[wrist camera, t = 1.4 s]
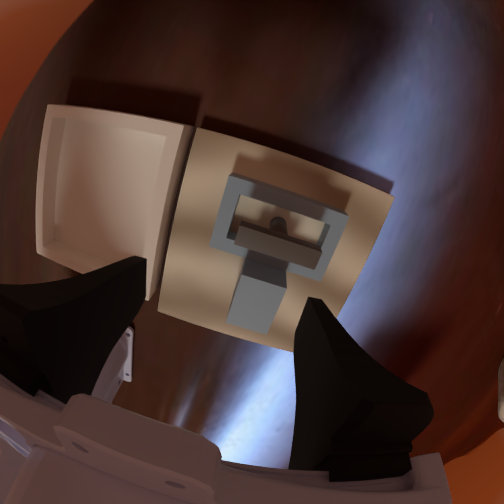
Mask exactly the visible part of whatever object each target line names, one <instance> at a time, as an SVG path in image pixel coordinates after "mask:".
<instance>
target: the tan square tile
mask: <svg viewBox="0 0 504 504" xmlns="http://www.w3.org/2000/svg"><path fill="white" fill-rule="evenodd" d="M232 172H233V173H236V174H239V175H243V176H246V177H249V178H252V179H255V180H258V181H262V182H265V183H268V184H271V185H274V186H277V187H280V188H283V189H286V190H289V191H292V192H295V193H297V194H300V195H303V196H306V197H309V198H312V199H314V200H317V201H320V202H323V203H325V204H328V205H331V206H333V207H336V208H339V209H341V210H344V211H345V212H346V213H347V214H348V215H349V219H348V221H347V224H346V226H345V229H344V231H343V233H342V236H341V238H340V240H339V243H338V245H337V247H336V249H335V252H334V254H333V256H332V258H331V260H330V263H329V265H328V267H327V269H326V271H325V274H324V276H323V278H322V280H321V282H320V281H317V280H314V279H310V278H307V277H304V276H301V275H298V274H294V273H291V272H288V271H286V279H287V290H286V292H285V295H284V297H283V299H282V301H281V304H280V306H279V308H278V310H277V313H276V315H275V317H274V319H273V322H272V324H271V326H270V328H269V331H268V333H267V335H266V334H262V333H259V332H255V331H252V330H248V329H245V328H242V327H238V326H235V325H232V324H228V323H226V319H227V315H228V311H229V307H230V304H231V300H232V296H233V292H234V289H235V286H236V283H237V280H238V277H239V274H240V271H241V268H242V265H243V262H244V259H245V258H244V257H241V256H237V255H234V254H231V253H228V252H225V251H222V250H219V249H215V248H212V247H209V244H210V240H211V237H212V233H213V229H214V226H215V222H216V218H217V215H218V211H219V208H220V204H221V201H222V197H223V194H224V190H225V187H226V183H227V180H228V177H229V175H230V174H231V173H232ZM393 200H394V196H392V195H390V194H388V193H386V192H384V191H382V190H379V189H377V188H375V187H373V186H370V185H368V184H366V183H363V182H361V181H359V180H356V179H354V178H351V177H349V176H347V175H344V174H342V173H339V172H337V171H334V170H332V169H329V168H326V167H324V166H321V165H318V164H316V163H313V162H310V161H308V160H305V159H302V158H299V157H296V156H294V155H291V154H288V153H285V152H282V151H279V150H276V149H273V148H270V147H266V146H263V145H260V144H257V143H254V142H250V141H247V140H244V139H240V138H237V137H233V136H230V135H226V134H222V133H218V132H215V131H211V130H207V129H203V128H197V130H196V133H195V137H194V140H193V144H192V148H191V151H190V155H189V159H188V163H187V166H186V170H185V174H184V178H183V182H182V186H181V191H180V195H179V199H178V203H177V208H176V212H175V217H174V222H173V226H172V231H171V236H170V241H169V246H168V251H167V257H166V262H165V268H164V273H163V279H162V285H161V292H160V298H159V305H158V311H159V312H162V313H165V314H167V315H170V316H173V317H176V318H179V319H182V320H185V321H187V322H190V323H193V324H196V325H199V326H203V327H206V328H209V329H212V330H215V331H218V332H222V333H225V334H228V335H231V336H235V337H238V338H242V339H245V340H249V341H252V342H256V343H259V344H263V345H267V346H270V347H274V348H278V349H282V350H286V351H290V352H293V350H294V335H295V330H296V328H297V325H298V322H299V320H300V317H301V315H302V312H303V309H304V306H305V304H306V301H307V298H308V296H309V297H313V298H318V299H322V300H323V301H324V303H325V304H326V305H327V307H328V308H329V309H330V311H331V312H332V313H333V315H334V316H335V317H336V318H337V316H338V314H339V312H340V311H341V309H342V307H343V305H344V303H345V301H346V300H347V298H348V296H349V294H350V292H351V290H352V288H353V286H354V284H355V282H356V281H357V279H358V277H359V275H360V273H361V271H362V269H363V267H364V265H365V262H366V260H367V258H368V256H369V254H370V252H371V250H372V248H373V246H374V244H375V241H376V239H377V237H378V235H379V233H380V230H381V228H382V226H383V224H384V221H385V219H386V217H387V214H388V212H389V210H390V207H391V205H392V202H393ZM324 225H325V223H324V222H321V221H318V220H315V219H312V218H310V217H307V216H304V215H301V214H298V213H295V212H292V211H289V210H286V209H283V208H280V207H277V206H274V205H271V204H268V203H265V202H262V201H259V200H256V199H253V198H250V197H247V196H243V195H240V198H239V201H238V204H237V208H236V211H235V214H234V218H233V221H232V224H231V227H230V231H231V232H235V233H237V235H236V238H235V242H234V244H235V245H238V246H241V247H244V248H247V249H250V250H253V251H257V252H260V253H263V254H266V255H269V256H272V257H275V258H279V259H282V260H285V261H288V262H291V263H294V264H297V265H300V266H304V267H307V268H310V269H313V270H315V268H316V266H317V264H318V261H319V259H320V257H321V255H322V250H321V247H320V246H319V245H317V242H318V240H319V237H320V235H321V233H322V230H323V228H324Z"/></svg>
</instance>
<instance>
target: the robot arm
mask: <svg viewBox="0 0 504 504" xmlns="http://www.w3.org/2000/svg"><path fill="white" fill-rule="evenodd" d="M146 273H147V259H146V258H143V257H139V256H131V257H128V258H125V259H123V260H120V261H117V262H115V263H112V264H110V265H107V266H104V267H102V268H99V269H96V270H93V271H91V272H88V273H85V274H82V275H79V276H75V277H71V278H67V279H63V280H58V281H52V282H46V283H39V284H25V285H9V284H0V504H452V499H451V494H450V490H449V486H448V482H447V478H446V475H445V470H444V467H443V463H442V459H441V456H440V453H432V454H427V455H420V456H416V457H414V458H412V459H410V457H409V453H408V452H411V451H412V449H413V447H412V444H411V441H412V440H413V439H415V438H416V437H417V436H418V435H419V434H420V433H421V432H422V431H423V430H424V429H425V428H426V427H427V426H428V425H429V424H430V422H431V420H432V418H433V416H434V410H433V407H432V404H431V402H430V399H429V397H428V394H427V393H426V392H424V391H422V390H420V389H418V388H416V387H414V386H412V385H410V384H408V383H406V382H405V381H403V380H402V379H400V378H398V377H397V376H395V375H394V374H392V373H391V372H389V371H388V370H387V369H385V368H384V367H383V366H381V365H380V364H379V363H378V362H376V361H375V360H374V359H373V358H372V357H371V356H369V355H368V354H367V353H366V352H365V351H364V350H363V349H362V348H361V347H360V346H359V345H358V344H357V343H356V342H355V341H354V339H353V338H352V337H351V336H350V335H349V334H348V333H347V331H346V330H345V329H344V328H343V327H342V325H341V324H340V323H339V321H338V320H337V319H336V317H335V316H334V315H333V313H332V312H331V311H330V309H329V308H328V307H327V305H326V304H325V303H324V301H323V300H322V299H318V298H313V297H309V296H308V298H307V301H306V304H305V306H304V309H303V312H302V315H301V317H300V320H299V322H298V325H297V328H296V330H295V335H294V350H293V353H294V368H295V383H296V411H295V424H294V434H293V442H292V449H291V457H290V462H289V468H288V469H278V468H268V467H260V466H253V465H246V464H240V463H234V462H229V461H223V460H221V458H222V456H221V453H220V450H219V448H218V447H217V446H216V444H214V443H213V442H211V441H210V440H208V439H207V438H205V437H204V436H202V435H199V434H197V433H194V432H191V431H189V430H186V429H183V428H180V427H176V426H173V425H170V424H166V423H163V422H160V421H157V420H154V419H151V418H148V417H145V416H142V415H139V414H137V413H134V412H131V411H129V410H126V409H123V408H121V407H118V406H116V405H113V404H111V402H112V400H113V398H114V396H115V394H116V393H117V391H118V389H119V387H120V385H121V383H122V381H123V380H125V381H128V382H131V381H132V363H133V337H134V330H133V328H132V327H130V326H129V325H130V323H131V322H132V321H133V319H134V318H135V316H136V315H137V313H138V312H139V310H140V308H141V306H142V304H143V302H144V300H145V298H146ZM128 333H129V334H130V335H129V334H128Z"/></svg>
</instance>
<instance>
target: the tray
mask: <svg viewBox="0 0 504 504" xmlns="http://www.w3.org/2000/svg"><path fill="white" fill-rule="evenodd" d="M193 130H194V126H191V125H186V124H182V123H178V122H173V121H168V120H164V119H159V118H154V117H149V116H143V115H138V114H132V113H126V112H120V111H113V110H106V109H99V108H91V107H83V106H74V105H51V104H48V105H47V110H46V115H45V121H44V126H43V132H42V139H41V146H40V154H39V163H38V175H37V190H36V246H37V253H38V254H40V255H42V256H45V257H47V258H49V259H51V260H53V261H55V262H57V263H59V264H61V265H64V266H66V267H68V268H70V269H72V270H75V271H77V272H79V273H81V274H85V273H88V272H91V271H93V270H96V269H99V268H102V267H104V266H107V265H110V264H112V263H115V262H117V261H120V260H123V259H125V258H128V257H131V256H139V257H143V258H146V259H147V273H146V298H145V300H148V301H149V299H150V298H151V297H152V295H153V294H154V292H155V291H156V289H157V288H158V287H159V283H160V277H161V271H162V265H163V259H164V253H165V248H166V243H167V238H168V233H169V228H170V223H171V218H172V213H173V209H174V204H175V200H176V195H177V191H178V187H179V183H180V179H181V174H182V170H183V167H184V163H185V159H186V155H187V151H188V148H189V144H190V140H191V137H192V133H193Z"/></svg>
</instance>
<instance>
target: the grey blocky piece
mask: <svg viewBox="0 0 504 504" xmlns="http://www.w3.org/2000/svg"><path fill="white" fill-rule="evenodd" d="M240 195H243V196H247V197H250V198H253V199H256V200H259V201H262V202H265V203H268V204H271V205H274V206H277V207H280V208H283V209H286V210H289V211H292V212H295V213H298V214H301V215H304V216H307V217H310V218H312V219H315V220H318V221H321V222H324V223H325V225H324V228H323V230H322V233H321V235H320V237H319V240H318V242H317V245H319V246H320V247H321V250H322V255H321V257H320V259H319V261H318V264H317V266H316V268H315V270H313V269H310V268H307V267H304V266H300V265H297V264H294V263H291V262H288V261H285V260H282V259H279V258H275V257H272V256H269V255H266V254H263V253H260V252H257V251H253V250H250V249H247V248H244V247H241V246H238V245H235V244H234V242H235V238H236V235H237V233H235V232H231V231H230V227H231V224H232V221H233V218H234V214H235V211H236V208H237V204H238V201H239V198H240ZM348 219H349V215H348V214H347V213H346V212H345V211H344V210H341V209H339V208H336V207H333V206H331V205H328V204H325V203H323V202H320V201H317V200H314V199H312V198H309V197H306V196H303V195H300V194H297V193H295V192H292V191H289V190H286V189H283V188H280V187H277V186H274V185H271V184H268V183H265V182H262V181H258V180H255V179H252V178H249V177H246V176H243V175H239V174H236V173H233V172H232V173H231V174H230V175H229V177H228V180H227V183H226V187H225V190H224V194H223V197H222V201H221V204H220V208H219V211H218V215H217V218H216V222H215V226H214V229H213V233H212V237H211V240H210V244H209V247H212V248H215V249H219V250H222V251H225V252H228V253H231V254H234V255H237V256H241V257H244V258H245V259H244V262H243V265H242V268H241V271H240V274H239V277H238V280H237V283H236V286H235V289H234V292H233V296H232V300H231V304H230V307H229V311H228V315H227V319H226V323H228V324H232V325H235V326H238V327H242V328H245V329H248V330H252V331H255V332H259V333H262V334H266V335H267V333H268V331H269V328H270V326H271V324H272V322H273V319H274V317H275V315H276V313H277V310H278V308H279V306H280V304H281V301H282V299H283V297H284V295H285V292H286V290H287V279H286V271H288V272H291V273H294V274H298V275H301V276H304V277H307V278H310V279H314V280H317V281H320V282H321V280H322V278H323V276H324V274H325V271H326V269H327V267H328V265H329V263H330V260H331V258H332V256H333V254H334V252H335V249H336V247H337V245H338V243H339V240H340V238H341V236H342V233H343V231H344V229H345V226H346V224H347V221H348Z"/></svg>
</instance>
